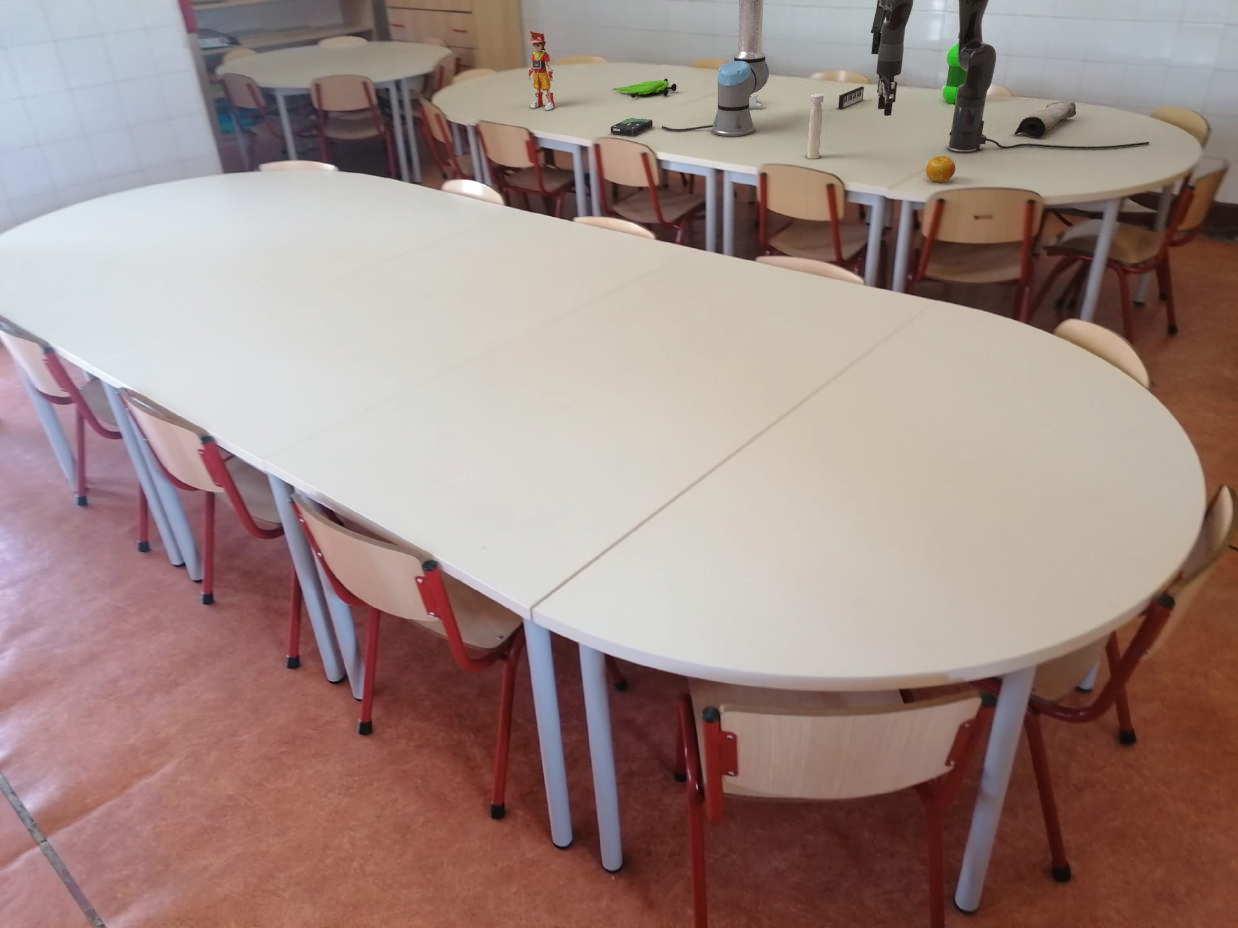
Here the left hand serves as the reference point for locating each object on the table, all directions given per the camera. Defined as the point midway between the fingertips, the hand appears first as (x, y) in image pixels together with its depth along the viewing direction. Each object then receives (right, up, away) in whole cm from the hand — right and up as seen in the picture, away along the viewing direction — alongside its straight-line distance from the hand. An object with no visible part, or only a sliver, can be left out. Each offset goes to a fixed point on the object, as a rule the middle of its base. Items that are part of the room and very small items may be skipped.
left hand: (881, 50), depth 308 cm
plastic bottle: (+42, +1, +47) cm, 63 cm away
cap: (-25, -22, -14) cm, 36 cm away
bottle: (-24, -38, -3) cm, 45 cm away
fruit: (+9, -54, -30) cm, 63 cm away
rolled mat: (+62, -22, +11) cm, 67 cm away
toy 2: (-81, +22, +89) cm, 122 cm away
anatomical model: (-38, +4, +59) cm, 70 cm away
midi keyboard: (+3, +2, +52) cm, 52 cm away
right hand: (-5, -29, -20) cm, 36 cm away
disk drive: (-86, -14, +37) cm, 94 cm away
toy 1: (-123, +10, +75) cm, 144 cm away
